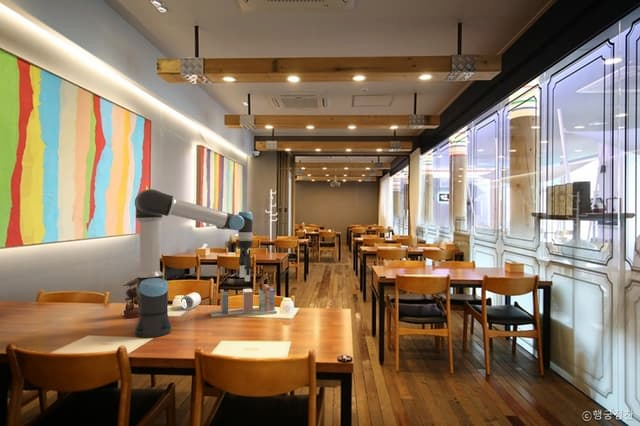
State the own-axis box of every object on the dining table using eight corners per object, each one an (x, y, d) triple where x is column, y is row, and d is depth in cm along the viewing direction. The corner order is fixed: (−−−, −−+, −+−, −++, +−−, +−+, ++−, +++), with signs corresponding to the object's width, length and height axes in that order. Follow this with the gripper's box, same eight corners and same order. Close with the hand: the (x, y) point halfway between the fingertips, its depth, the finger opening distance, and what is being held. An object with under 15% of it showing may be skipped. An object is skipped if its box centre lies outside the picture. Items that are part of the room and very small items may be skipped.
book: (252, 312, 200) (252, 291, 201) (244, 313, 199) (244, 292, 199) (251, 308, 209) (251, 288, 209) (242, 309, 208) (242, 289, 208)
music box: (137, 319, 189) (134, 280, 190) (117, 320, 191) (114, 281, 191) (154, 312, 204) (151, 275, 205) (135, 313, 206) (133, 276, 206)
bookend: (228, 313, 197) (228, 294, 197) (222, 314, 196) (222, 295, 196) (227, 309, 205) (227, 291, 206) (221, 310, 205) (221, 291, 205)
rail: (276, 313, 203) (276, 287, 203) (211, 318, 193) (211, 290, 194) (273, 308, 214) (273, 283, 214) (211, 312, 204) (211, 286, 204)
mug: (201, 306, 220) (201, 292, 220) (193, 310, 210) (193, 296, 210) (181, 305, 221) (181, 291, 221) (173, 309, 211) (173, 295, 211)
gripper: (257, 241, 194) (256, 282, 194) (247, 238, 217) (246, 275, 217) (243, 241, 191) (242, 283, 191) (233, 238, 214) (233, 276, 214)
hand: (244, 279), depth 204 cm, fingers open, 13 cm apart
